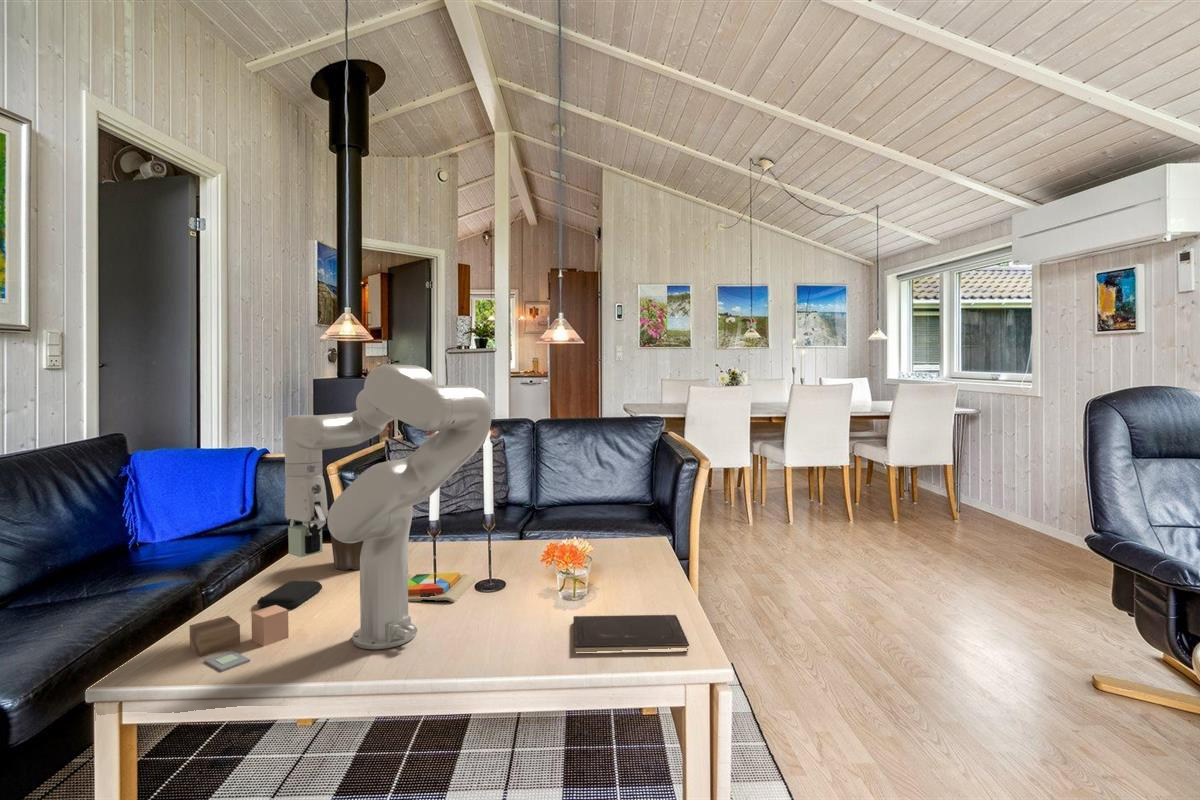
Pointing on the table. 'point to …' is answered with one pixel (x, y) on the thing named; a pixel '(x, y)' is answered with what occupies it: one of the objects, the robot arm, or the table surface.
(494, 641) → the table surface
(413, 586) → the wooden puzzle
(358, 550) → the plant pot
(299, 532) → the sage block
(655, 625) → the hardcover book
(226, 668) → the card
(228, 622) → the walnut base
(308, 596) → the carrying case or bag
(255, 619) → the terracotta block
